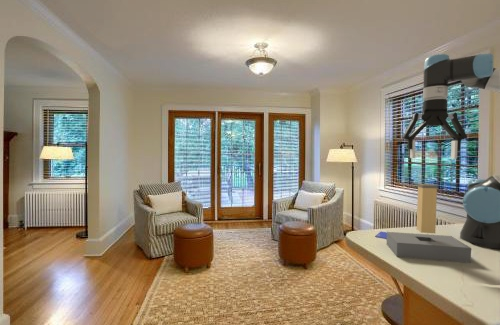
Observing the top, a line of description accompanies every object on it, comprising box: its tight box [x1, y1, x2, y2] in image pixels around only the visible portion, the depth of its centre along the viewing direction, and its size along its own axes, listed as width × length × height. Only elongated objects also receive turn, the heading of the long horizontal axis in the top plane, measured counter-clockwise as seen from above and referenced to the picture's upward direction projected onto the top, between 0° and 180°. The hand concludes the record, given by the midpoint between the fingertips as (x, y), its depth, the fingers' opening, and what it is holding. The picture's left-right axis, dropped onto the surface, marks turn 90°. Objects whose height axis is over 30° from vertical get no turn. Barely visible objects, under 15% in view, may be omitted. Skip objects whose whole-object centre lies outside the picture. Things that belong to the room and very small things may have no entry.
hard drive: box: [374, 231, 388, 240], centre depth 106 cm, size 2×8×12 cm
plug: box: [416, 183, 439, 234], centre depth 90 cm, size 4×4×15 cm
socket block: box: [386, 231, 472, 264], centre depth 91 cm, size 20×12×5 cm, turn 78°
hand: (432, 158), depth 103 cm, fingers open, 13 cm apart
